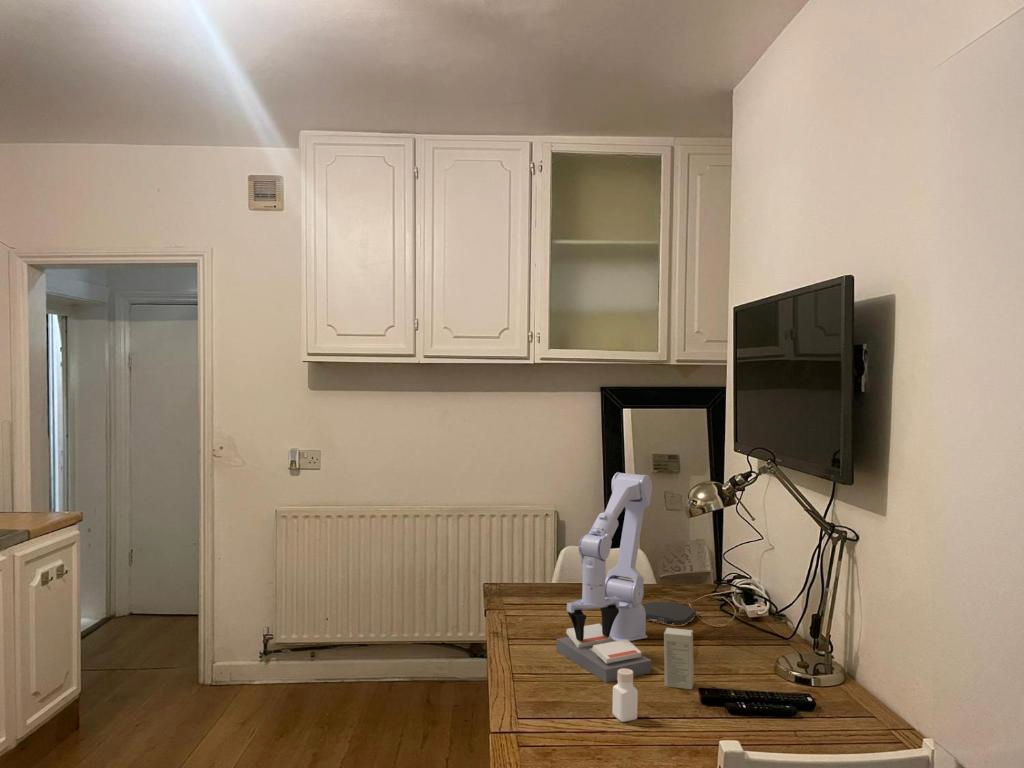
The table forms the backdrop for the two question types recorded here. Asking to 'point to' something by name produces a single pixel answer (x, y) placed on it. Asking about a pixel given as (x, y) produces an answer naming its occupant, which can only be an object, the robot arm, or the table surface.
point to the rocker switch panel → (601, 661)
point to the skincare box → (678, 658)
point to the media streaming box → (669, 612)
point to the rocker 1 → (589, 636)
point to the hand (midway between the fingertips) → (592, 637)
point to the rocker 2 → (616, 651)
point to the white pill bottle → (625, 696)
